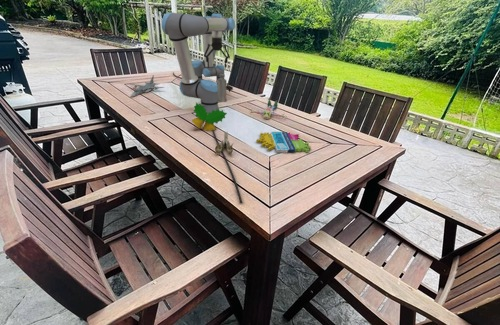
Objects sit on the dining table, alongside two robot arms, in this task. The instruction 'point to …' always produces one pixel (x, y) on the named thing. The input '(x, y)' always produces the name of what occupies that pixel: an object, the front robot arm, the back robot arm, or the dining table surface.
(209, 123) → the ornament
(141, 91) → the airplane
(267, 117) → the toy
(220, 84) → the bottle
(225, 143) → the jawbone
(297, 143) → the sign
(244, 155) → the dining table surface
